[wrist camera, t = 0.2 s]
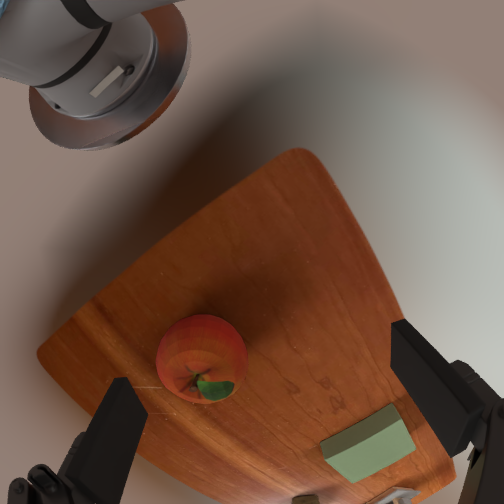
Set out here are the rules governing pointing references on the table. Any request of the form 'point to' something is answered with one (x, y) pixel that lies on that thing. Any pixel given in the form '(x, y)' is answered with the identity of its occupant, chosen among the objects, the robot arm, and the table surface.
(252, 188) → the table surface
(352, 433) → the green block
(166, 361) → the fruit
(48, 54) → the robot arm
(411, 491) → the desk lamp
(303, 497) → the stone block
